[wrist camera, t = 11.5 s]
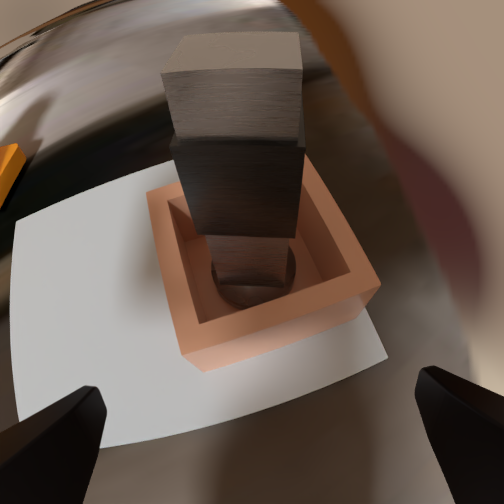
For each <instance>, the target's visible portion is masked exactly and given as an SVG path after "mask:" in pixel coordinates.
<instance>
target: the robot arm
mask: <svg viewBox="0 0 504 504" xmlns="http://www.w3.org/2000/svg"><path fill="white" fill-rule="evenodd" d="M415 399H416V402H417V405H418V408H419V411H420V414H421V417H422V421H423V424H424V427H425V430H426V433H427V436H428V439H429V442H430V444H431V446H432V449H433V451H434V453H435V455H436V458H437V460H438V462H439V465H440V467H441V469H442V472H443V474H444V477H445V479H446V482H447V484H448V486H449V489H450V491H451V494H452V496H453V499H454V502H455V504H504V396H501V395H499V394H497V393H494V392H492V391H490V390H488V389H486V388H483V387H481V386H479V385H477V384H474V383H472V382H470V381H468V380H465V379H463V378H461V377H459V376H457V375H454V374H452V373H450V372H448V371H446V370H443V369H441V368H439V367H437V366H434V365H433V366H428V367H423V368H422V369H421V370H420V372H419V375H418V379H417V384H416V387H415ZM106 418H107V408H106V405H105V403H104V400H103V398H102V395H101V392H100V390H99V389H98V387H96V386H89V385H84V386H82V387H80V388H79V389H77V390H75V391H74V392H72V393H70V394H68V395H67V396H65V397H63V398H61V399H60V400H58V401H56V402H54V403H53V404H51V405H49V406H47V407H46V408H44V409H42V410H40V411H39V412H37V413H35V414H33V415H31V416H30V417H28V418H26V419H24V420H22V421H21V422H19V423H17V424H15V425H13V426H12V427H10V428H8V429H6V430H4V431H2V432H1V433H0V504H83V501H84V498H85V495H86V491H87V488H88V485H89V482H90V479H91V476H92V473H93V470H94V467H95V464H96V460H97V457H98V453H99V449H100V444H101V440H102V435H103V431H104V426H105V422H106Z"/></svg>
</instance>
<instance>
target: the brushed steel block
mask: <svg viewBox="0 0 504 504" xmlns="http://www.w3.org/2000/svg"><path fill="white" fill-rule="evenodd" d="M302 72H303V68H302V59H301V51H300V43H299V35H298V33H294V32H226V33H210V34H197V35H187V36H184V38H183V39H182V41H181V42H180V44H179V45H178V47H177V48H176V50H175V51H174V53H173V54H172V56H171V57H170V59H169V61H168V62H167V64H166V65H165V67H164V69H163V70H162V72H161V77H162V81H163V85H164V89H165V93H166V97H167V101H168V105H169V109H170V113H171V117H172V120H173V124H174V128H175V133H174V135H173V138H172V141H171V143H170V146H169V147H170V150H171V154H172V157H173V160H174V163H175V167H176V170H177V173H178V176H179V180H180V183H181V186H182V189H183V192H184V195H185V199H186V202H187V205H188V208H189V211H190V214H191V217H192V220H193V223H194V226H195V229H196V232H197V235H205V238H206V241H207V244H208V248H209V251H210V254H211V257H212V262H211V274H212V278H213V281H214V284H215V286H216V289H217V291H218V293H219V295H220V296H221V297H222V299H223V300H224V301H225V302H227V303H228V304H229V305H231V306H233V307H234V308H237V309H239V310H245V309H248V308H251V307H254V306H257V305H260V304H263V303H266V302H269V301H272V300H275V299H278V298H281V297H284V296H286V295H288V294H289V293H290V291H291V289H292V287H293V284H294V280H295V274H296V260H295V256H294V253H293V251H292V249H291V248H290V246H289V238H292V239H295V236H296V228H297V220H298V212H299V204H300V195H301V187H302V178H303V169H304V159H305V150H306V143H305V127H304V113H303V100H302V91H301V89H302Z"/></svg>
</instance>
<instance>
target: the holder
mask: <svg viewBox="0 0 504 504" xmlns="http://www.w3.org/2000/svg"><path fill="white" fill-rule="evenodd" d="M146 197H147V203H148V209H149V214H150V220H151V225H152V231H153V236H154V241H155V246H156V251H157V256H158V261H159V265H160V270H161V275H162V279H163V284H164V288H165V292H166V297H167V301H168V305H169V309H170V313H171V317H172V321H173V325H174V329H175V333H176V337H177V341H178V344H179V348H180V352H181V355H182V356H183V357H184V358H185V359H187V360H188V361H189V362H191V363H192V364H193V365H194V366H196V367H197V368H198V369H200V370H201V371H202V372H203V373H204V372H207V371H211V370H214V369H217V368H221V367H224V366H227V365H230V364H233V363H236V362H239V361H243V360H246V359H249V358H252V357H255V356H258V355H261V354H263V353H266V352H269V351H272V350H275V349H278V348H281V347H283V346H286V345H289V344H292V343H294V342H297V341H300V340H302V339H305V338H308V337H310V336H313V335H316V334H318V333H321V332H323V331H326V330H328V329H331V328H333V327H336V326H338V325H341V324H343V323H346V322H348V321H351V320H353V319H355V318H357V316H358V315H359V314H360V313H361V311H362V310H363V309H364V307H365V306H366V305H367V303H368V302H369V301H370V299H371V298H372V297H373V295H374V294H375V293H376V291H377V290H378V289H379V287H380V286H381V283H380V281H379V279H378V277H377V275H376V273H375V271H374V269H373V267H372V265H371V264H370V262H369V260H368V258H367V256H366V254H365V253H364V251H363V249H362V247H361V245H360V244H359V242H358V240H357V238H356V236H355V235H354V233H353V231H352V229H351V228H350V226H349V224H348V222H347V221H346V219H345V217H344V216H343V214H342V212H341V210H340V209H339V207H338V205H337V204H336V202H335V200H334V199H333V197H332V195H331V194H330V192H329V191H328V189H327V187H326V186H325V184H324V182H323V181H322V179H321V178H320V176H319V174H318V173H317V171H316V170H315V168H314V167H313V165H312V163H311V162H310V160H309V159H308V157H307V156H306V154H305V159H304V169H303V178H302V187H301V195H300V204H299V212H298V220H297V228H296V236H295V239H292V238H289V246H290V248H291V249H292V251H293V253H294V256H295V260H296V274H295V280H294V284H293V287H292V289H291V291H290V293H289V294H288V295H286V296H284V297H281V298H278V299H275V300H272V301H269V302H266V303H263V304H260V305H257V306H254V307H251V308H248V309H245V310H239V309H237V308H234V307H233V306H231V305H229V304H228V303H227V302H225V301H224V300H223V299H222V297H221V296H220V295H219V293H218V291H217V289H216V286H215V284H214V281H213V278H212V274H211V262H212V257H211V254H210V251H209V248H208V244H207V241H206V238H205V235H197V232H196V229H195V226H194V223H193V220H192V217H191V214H190V211H189V208H188V205H187V202H186V199H185V195H184V192H183V189H182V186H181V183H180V181H178V182H175V183H172V184H169V185H166V186H163V187H160V188H157V189H154V190H151V191H148V192H146Z"/></svg>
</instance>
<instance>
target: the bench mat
mask: <svg viewBox="0 0 504 504" xmlns="http://www.w3.org/2000/svg"><path fill="white" fill-rule="evenodd" d="M178 181H180V180H179V176H178V173H177V170H176V167H175V163H174V160H171V161H168V162H165V163H162V164H159V165H156V166H153V167H150V168H147V169H144V170H141V171H138V172H136V173H133V174H130V175H127V176H124V177H122V178H119V179H116V180H113V181H111V182H108V183H105V184H103V185H100V186H98V187H95V188H92V189H90V190H87V191H85V192H82V193H80V194H77V195H75V196H73V197H70V198H68V199H65V200H63V201H61V202H58V203H56V204H54V205H51V206H49V207H47V208H45V209H42V210H40V211H38V212H36V213H34V214H31V215H29V216H27V217H25V218H23V219H21V220H19V221H17V222H16V228H15V236H14V245H13V255H12V268H11V287H10V338H11V356H12V369H13V379H14V388H15V396H16V403H17V410H18V416H19V422H21V421H22V420H24V419H26V418H28V417H30V416H31V415H33V414H35V413H37V412H39V411H40V410H42V409H44V408H46V407H47V406H49V405H51V404H53V403H54V402H56V401H58V400H60V399H61V398H63V397H65V396H67V395H68V394H70V393H72V392H74V391H75V390H77V389H79V388H80V387H82V386H84V385H89V386H96V387H98V389H99V390H100V392H101V395H102V398H103V400H104V403H105V405H106V408H107V418H106V422H105V426H104V431H103V435H102V440H101V444H100V448H105V447H112V446H118V445H124V444H130V443H136V442H141V441H146V440H152V439H156V438H161V437H166V436H170V435H175V434H179V433H183V432H188V431H192V430H196V429H200V428H203V427H207V426H211V425H215V424H218V423H222V422H225V421H229V420H232V419H235V418H239V417H242V416H245V415H248V414H251V413H255V412H258V411H261V410H264V409H267V408H270V407H273V406H275V405H278V404H281V403H284V402H287V401H289V400H292V399H295V398H298V397H300V396H303V395H305V394H308V393H311V392H313V391H316V390H318V389H321V388H323V387H326V386H328V385H330V384H333V383H335V382H337V381H340V380H342V379H344V378H347V377H349V376H351V375H354V374H356V373H358V372H360V371H362V370H364V369H367V368H369V367H371V366H373V365H375V364H377V363H379V362H381V361H383V360H385V359H387V358H388V356H387V354H386V351H385V349H384V347H383V345H382V343H381V340H380V338H379V336H378V334H377V332H376V329H375V327H374V325H373V323H372V321H371V319H370V317H369V315H368V312H367V310H366V308H365V307H364V309H363V310H362V311H361V313H360V314H359V315H358V316H357V318H355V319H353V320H351V321H348V322H346V323H343V324H341V325H338V326H336V327H333V328H331V329H328V330H326V331H323V332H321V333H318V334H316V335H313V336H310V337H308V338H305V339H302V340H300V341H297V342H294V343H292V344H289V345H286V346H283V347H281V348H278V349H275V350H272V351H269V352H266V353H263V354H261V355H258V356H255V357H252V358H249V359H246V360H243V361H239V362H236V363H233V364H230V365H227V366H224V367H221V368H217V369H214V370H211V371H207V372H204V373H203V372H202V371H201V370H200V369H198V368H197V367H196V366H194V365H193V364H192V363H191V362H189V361H188V360H187V359H185V358H184V357H183V356H182V355H181V352H180V348H179V344H178V341H177V337H176V333H175V329H174V325H173V321H172V317H171V313H170V309H169V305H168V301H167V297H166V292H165V288H164V284H163V279H162V275H161V270H160V265H159V261H158V256H157V251H156V246H155V241H154V236H153V231H152V225H151V220H150V214H149V209H148V203H147V197H146V192H148V191H151V190H154V189H157V188H160V187H163V186H166V185H169V184H172V183H175V182H178Z"/></svg>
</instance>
